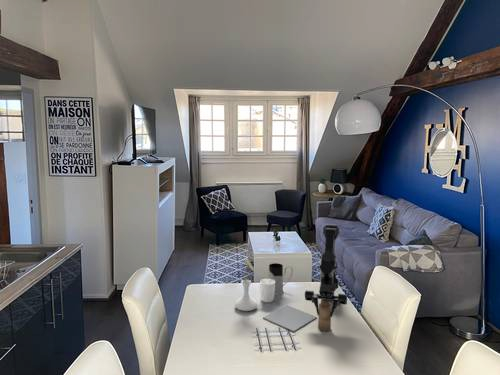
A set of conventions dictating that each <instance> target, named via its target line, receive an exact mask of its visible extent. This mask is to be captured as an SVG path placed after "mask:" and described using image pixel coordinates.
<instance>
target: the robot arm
mask: <svg viewBox="0 0 500 375" xmlns="http://www.w3.org/2000/svg"><path fill="white" fill-rule="evenodd" d="M322 234H323V235H324V238H325V248H324V252H323V253H322V255H321V259H319V265H318V266H319V267H318V268H319V269H320V286H319V292H318V293H315V292H314V290H308V289H307V290H305V291H304V300H305V301H310V302H311V303H312V304H313V305H314V306H315V310H316V314H317V316H319V299H320V300H322V299H327V300H329V301H330V302H332V304H331V318H333V315H334V313H335V310H336V309H337V308H338V306H341V305H345V306H346V305H348V296H347V294H344V293H338V295H335V292H336V290H338V289H339V279H338V277H337V273H336V271H335V270H336V269H338V262H337V260H336V255H335V241H336V240H337V238H338V237H339V235H340V226H338V224H332V223H326V224H325V225H323V226H322Z"/></svg>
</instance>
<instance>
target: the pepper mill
mask: <svg viewBox="0 0 500 375" xmlns="http://www.w3.org/2000/svg"><path fill="white" fill-rule="evenodd" d="M330 303H331V301H329V300H327V299H320V303H318V308H319V315H318V323H317V326H318V327H317V329H318V330H319V331H321V332H330V331H331V326H332V324H331V323H332V322H331V321H332V317H331V310H332V304H330Z"/></svg>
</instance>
